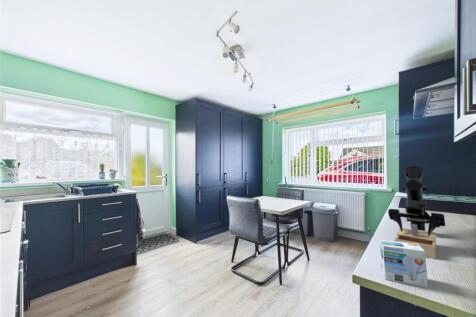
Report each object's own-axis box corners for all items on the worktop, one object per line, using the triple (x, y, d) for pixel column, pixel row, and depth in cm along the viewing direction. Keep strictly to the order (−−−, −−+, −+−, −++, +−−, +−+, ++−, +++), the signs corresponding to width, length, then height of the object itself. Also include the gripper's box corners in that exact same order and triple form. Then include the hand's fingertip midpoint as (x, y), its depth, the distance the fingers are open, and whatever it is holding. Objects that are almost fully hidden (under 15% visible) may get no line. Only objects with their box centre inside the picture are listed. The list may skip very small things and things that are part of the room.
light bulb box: (384, 280, 62) (382, 245, 63) (381, 270, 68) (378, 238, 69) (429, 288, 57) (426, 251, 58) (421, 277, 63) (418, 243, 64)
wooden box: (400, 242, 92) (399, 232, 92) (436, 249, 83) (435, 238, 83) (396, 250, 83) (395, 238, 84) (435, 259, 75) (434, 246, 75)
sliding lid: (400, 228, 96) (399, 218, 97) (436, 234, 87) (435, 222, 88) (396, 234, 88) (395, 223, 88) (435, 241, 79) (434, 228, 79)
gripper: (387, 191, 95) (384, 219, 87) (442, 194, 82) (445, 226, 73) (391, 205, 100) (389, 232, 92) (443, 210, 87) (446, 242, 78)
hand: (414, 233), depth 84 cm, fingers open, 8 cm apart
